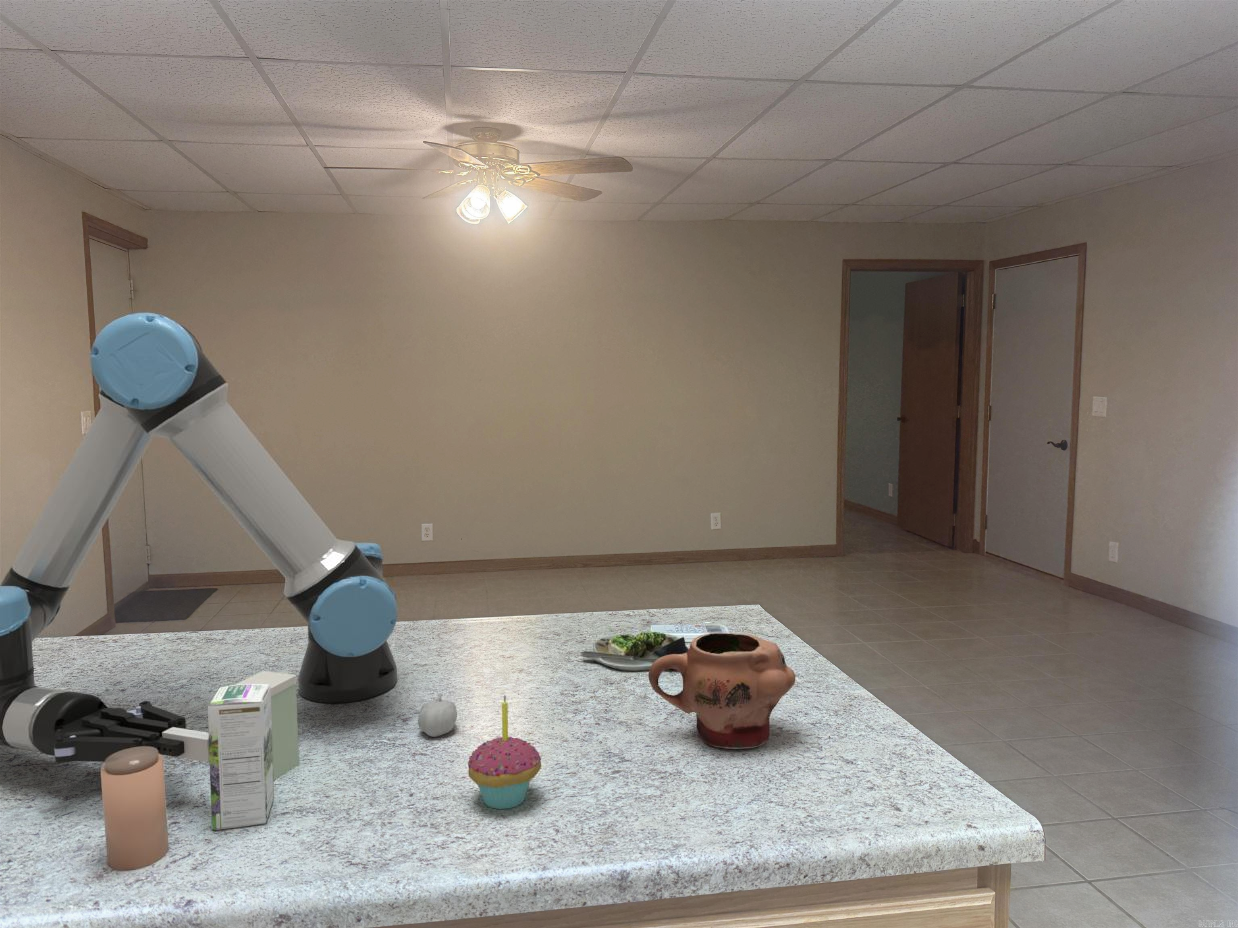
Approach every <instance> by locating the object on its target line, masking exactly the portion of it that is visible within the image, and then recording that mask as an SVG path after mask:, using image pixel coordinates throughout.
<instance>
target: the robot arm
mask: <svg viewBox="0 0 1238 928" xmlns="http://www.w3.org/2000/svg"><path fill="white" fill-rule="evenodd" d="M89 361H90V368H91V372H92V375H93V376H94V377H93V378H94V380H95V381H96V383H97V385H98V386H99V388H100V389H101V390H100V391H99V393H98V398H99V400H100V403H101V406H100V409H99V411H98V412H97V414H96V416H95V417H94V420H93V421H92V423H91V425H90V426H89V428H88V430H87V431H86V433H85V435H84V437H83V439H82V440H81V442H80V444H79V445H78V447H77V449H76V451H75V453H74V455H73V456H72V458H71V460H70V462H69V463H68V465H67V467H66V469H65V471H64V472H63V474H62V476H61V478H60V479H59V481H58V483H57V485H56V487H55V488H54V490H53V492H52V493H51V496H50V497H49V499H48V500H47V502H46V504H45V506H44V507H43V510H42V511H41V513H40V515H39V517H38V518H37V520H36V522H35V524H34V526H33V527H32V528H31V530H30V533H29V535H28V536H27V538H26V540H25V541H24V543H23V545H22V547H21V548H20V550H19V552H18V554H17V556H16V557H15V559H14V561H13V563H12V564H11V565H10V566H11V567H10V569H9V570H8V572H6V575H5V576H4V578H3V580H2V582H1V583H0V746H1V747H8V748H12V749H18V750H24V751H30V752H35V753H39V754H41V755H42V754H43V755H47V756H53V757H54V762H55V763H56V764H62V763H72V762H73V763H74V762H90V763H94V762H95V763H97V762H98V763H105V760H106V759H107V758H108V757H109V756H110V755H112V754H114V753H116V752H118V751H121V750H124V749H128V748H133V747H140V746H149V747H154V748H156V749H157V750H158V753H159V754H161V755H162V756H167V757H173V758H174V757H175V758H180V759H186V760H192V761H196V762H197V761H198V762H204V763H209V764H210V761H209V732H205V731H199V730H194V729H193V730H192V729H187V722H186V719H187V718H186V717H185V716H182V715H179V714H176V713H174V712H170V711H168V710H166V709H162V708H159V707H157V706H154V705H153V704H152V703H151V701H148V700H147V701H146V700H144V701H141V702H139V706H136V707H135V709H132V710H127V709H126V708H123V707H108V706H107V704H105V703H104V702H103V701H102V699H100V697H99V696H96V695H93V694H90V693H83V692H76V691H70V690H65V689H57V688H50V687H42V686H37V685H36V684H35V668H34V667H35V665H34V657H33V641H34V640H35V639H36V638H37V637H38V636H39V635H40V633H41V632H43V631H44V629H45V628H46V627H48V626H49V625H50V624H51V623H53V621H54V619H55V618H56V617H57V615H58V614H59V612H60V609H61V606H62V601H63V599H64V598H65V596H66V594H67V593H68V591H69V588H70V587H71V584H72V583H73V580H74V579H75V577H76V575H77V574H78V572H79V570H80V568H81V567H82V565H83V562H85V560H86V558H87V556H88V554H89V553H90V550H91V549H92V547H93V546H94V543H95V541H96V540H97V538H98V536H99V534H100V533H101V531H102V529H103V528H104V525H105V524H106V522H107V520H108V519H109V517H110V515H111V514H112V512H113V509H114V508H115V506H116V504H117V502H118V500H119V499H120V497H121V495H122V493H123V491H124V490H125V488H126V486H127V485H128V482H129V481H130V480H131V478H132V476H133V474H134V472H135V471H136V468H137V466H138V465H139V463H140V462H141V460H142V458H143V456H144V454H145V453H146V451H147V449H148V447H149V446H150V443H151V442H152V440H153V438H154V437H155V438H163V439H166V440H168V441H169V442H170V443H171V444H172V446H174V447H175V449H176V450H177V451H178V452H179V453H180V455H181V456H182V457H183V458H184V460H185V461H186V462H187V463H188V464H189V465H190V466H191V468H192V469H193V470H194V471H195V473H196V474H197V475H198V476H199V477H200V478H201V480H202V481H203V482H204V483H205V484H206V485H207V487H208V488H209V489H210V490H211V492H212V493H213V494H214V495H215V496H216V497H217V498H218V500H219V501H220V502H221V504H222V505H223V506H224V507H225V508H226V510H227V511H228V512H229V513H230V514H231V515H232V517H234V519H235V520H236V521H237V523H238V524H239V525H240V526H241V527H242V528H243V529H244V531H245V532H246V533H247V534H248V535H249V537H250V538H251V539H252V540H253V541H254V542H255V544H256V546H258V548H259V549H260V550H261V551H262V552H263V553H264V554H265V556H266V557H267V558H268V559H269V560H270V562H271V563H272V564H273V566H274V567H275V568H276V569H277V570H278V571H279V572H280V574H281V575H282V576H283V577H284V580H285V581H284V589H283V594H284V596H285V597H286V599H287V600H288V601H289V602H290V604H291V605H292V606H293V607H294V609H295V610H296V611H297V612H298V613H299V614H300V616H301V617H302V618H303V619H304V620H305V622H306V623H307V635H308V637H307V641H308V642H307V645H306V650H305V653H304V657H303V660H302V664H301V667H300V670H299V674H298V679H297V684H298V694H299V695H300V696H301V697H302V698H304V699H306V700H310V701H313V702H319V703H331V704H333V703H335V704H336V703H348V702H349V703H350V702H355V701H361V700H367V699H369V698H373V697H376V696H379V695H382V694H384V693H386V692H388V691H390V690H391V689H392V688H394V687H395V686H396V684H397V683H398V668H397V667H398V666H397V664H396V660H395V659H394V656H393V653H392V650H391V648H390V645H389V643H388V641H387V640H388V639H389V638H390V636H391V635H392V634H393V631H394V630H395V627H396V625H397V624H396V623H397V620H398V602H397V596H396V595H395V593H394V591H393V590H392V589H391V587H390V586H389V583H388V582H387V580H386V578H385V577H384V574H383V573H384V572H383V562H384V556H383V553H382V548H381V545H380V544H377V543H375V542H354V541H353V540H352V541H351V540H343V539H338V538H337V537H336V536H335V535H334V533H333V532H332V531H331V530H330V528H328V527H329V526H327V525H326V524H325V522H324V521H323V520H322V518H321V517H320V516H319V515H318V514H317V512H316V511H315V510H314V508H313V507H312V506H311V505H310V503H309V502H308V501H307V500H306V499H305V497H304V496H303V495H302V494H301V492H300V490H298V489H297V487H296V486H295V485H294V483H293V482H292V481H291V480H290V479H289V477H288V476H287V475H286V474H285V472H284V471H283V470H282V469H281V467H280V466H279V465H278V464H277V462H276V461H275V460H274V458H273V457H272V456H271V455H270V454H269V452H268V451H267V450H266V449H265V447H264V446H263V444H262V443H260V441H259V440H258V438H257V437H256V436H255V435H254V434H253V432H252V431H251V430H250V428H249V427H248V426H247V425H246V424H245V423H244V421H243V420H242V419H241V418H240V416H239V415H238V414H237V412H236V411H235V410H234V409H233V407H232V406H231V405H230V404H229V402H228V399H227V396H228V388H229V384H228V382H227V381H226V379H224V377H223V376H222V375H221V372H219V371H218V369H217V368H216V367H215V366H214V365H213V363H212V362H211V361H210V360H209V358H208V357H207V355H206V354H205V353H204V352H203V348H202V346H201V344H200V342H199V341H198V339H197V338H196V336H194V334H193V333H192V332H191V331H190V330H189V329H187V328H186V327H184V326H183V325H182V324H179V323H178V322H176V321H175V320H173V319H172V318H169V317H167V316H164V315H161V314H157V313H153V312H135V313H131V314H126V315H125V316H122V317H119V318H117V319H115V320H113V321H111V322H110V323H108V324H107V325H106V326H105V327H103V328H102V330H100V332H99V333H98V334H97V336H96V338H95V339H94V341H93V343H92V347H91V350H90V360H89Z"/></svg>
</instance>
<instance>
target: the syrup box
mask: <svg viewBox="0 0 1238 928" xmlns="http://www.w3.org/2000/svg"><path fill="white" fill-rule="evenodd" d="M213 696H214V697H213V698H212V699H211V701H210V703H209V705H208V707H207V725H208V727H207V729H208V732H207V733H209V761H210V762H209V777H210V778H209V782H210V808H211V809H210V810H211V812H210V813H211V829H212V830H214V831H219V830H227V829H235V828H242V827H243V828H244V827H250V826H256V825H263V824H267V822H268V819H269V816H270V814H271V813H270V812H271V808H272V805H273V803H274V799H275V792H274V791H275V787H274V782H275V780H274V779H273V747H272V716H271V685H269V684H240V685H235V684H232V685H227V686H221V687H219V688H218V690H217V691H216V693H215V695H213Z"/></svg>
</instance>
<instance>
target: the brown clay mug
mask: <svg viewBox="0 0 1238 928" xmlns="http://www.w3.org/2000/svg"><path fill="white" fill-rule="evenodd" d="M688 649H689V651H688V652H687V653H684V654H671V655H666V656H663V657H661V658H659V659H657V660H656V661H655V662H654V663H653V664H652V666H651V668H650V670H648V682H649V684H650V686H651V688H652V690H653V691H654V692H655V693H656V694H658V695H659V696H660V697H661V698H662V699H663V700H665V701H667V702H668V703H669V704H671V705H672V706H674V707H675V708H676V709H679V710H681V711H682V713H683V712H684V713H686V714H692V713H695V714H696V726H695V727H696V732H697V733H698V735H699V737H700V739H702V741H703V742H704V743H706V744H707V745H709V746H712V747H715V748H723V749H731V750H740V749H752V748H757V747H761V746H763V745H764V744H765V743H766V742H768V740H769V738H770V730H771V727H770V726H771V725H770V717H771V714H772V712H773V710H774V709H775V707H777V705H778V703H779V702H780V700H781V698H782V697H784V696H785V695H786V694H787V693H788V692H789V691H790V690H791V689H792V688H793V686H795V684H796V675H795V671H794V670H793V669H792V668H791V667H790V666H788V665H787V663H786V660H785V659H786V658H785V655H784V654H783V652H782V650H781V649H780V647H779V646H778V645H777V644H776V642H775V643H774V642H772V641H769V640H766V639H762V638H760V637H758V636H756V635H752V634H743V633H741V634H740V633H727V632H714V633H712V632H711V633H705V634H701V635H698V636H696V637H695V638H693V639H692V641H691V642H690V644H689V648H688ZM667 670H675V671H677V672H679V674H680V675H681V678H682V690H681V691H680V692H679V693H677V694H673V695H672V694H669V693H667V692H665V691H664V690H663V689H662V688H661V687H660V686H659V679H660V676H661V675H662V673H664V671H667Z"/></svg>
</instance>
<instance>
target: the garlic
mask: <svg viewBox="0 0 1238 928" xmlns="http://www.w3.org/2000/svg"><path fill="white" fill-rule="evenodd" d="M442 696H443V694H442V693H438V695H437V699H433V700H431V701H428V702H425V703H424V704H423V705H422V706H421V707H420V711H419V714H418V717H417V718H418V719H417V722H418V727H419V728H420V730H421V731H422V732H424V733H425V734H427V736H429V737H432V738H436V737H440V736H443V735H446V734H447V733H450V731H452V730H453V728H454V727H455V726H456V721H457V717H458V711H457V705H456V704H455V703H454V702H453V701H451V700H444V699H442Z"/></svg>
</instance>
